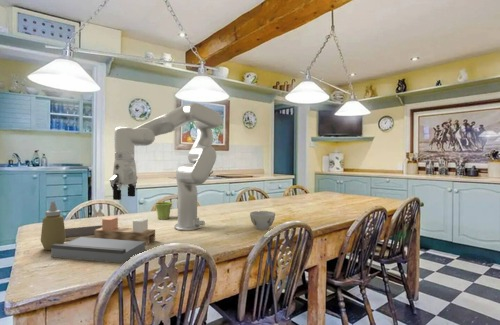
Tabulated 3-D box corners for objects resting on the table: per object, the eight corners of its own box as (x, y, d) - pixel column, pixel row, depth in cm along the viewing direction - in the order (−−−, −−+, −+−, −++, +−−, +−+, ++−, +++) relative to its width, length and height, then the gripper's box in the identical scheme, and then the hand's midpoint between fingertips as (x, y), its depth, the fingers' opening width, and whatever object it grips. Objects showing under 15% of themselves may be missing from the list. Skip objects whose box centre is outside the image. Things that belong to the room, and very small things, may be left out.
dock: (145, 249, 110) (145, 238, 110) (122, 262, 96) (122, 250, 96) (81, 244, 115) (81, 234, 115) (51, 256, 101) (51, 244, 101)
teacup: (280, 229, 142) (280, 213, 141) (262, 233, 133) (262, 216, 133) (259, 223, 153) (259, 208, 153) (241, 227, 145) (241, 211, 145)
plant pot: (165, 215, 169) (165, 201, 169) (175, 218, 163) (175, 203, 163) (151, 218, 161) (151, 203, 161) (162, 221, 156) (162, 205, 155)
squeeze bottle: (48, 244, 114) (48, 199, 113) (70, 244, 115) (69, 199, 114) (35, 251, 106) (34, 203, 105) (58, 251, 107) (57, 203, 106)
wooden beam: (155, 241, 121) (155, 229, 121) (147, 245, 115) (147, 233, 115) (104, 237, 125) (104, 226, 125) (94, 241, 119) (94, 230, 119)
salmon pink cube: (117, 227, 123) (117, 217, 123) (110, 230, 119) (110, 219, 119) (109, 227, 124) (109, 217, 124) (102, 230, 119) (102, 219, 119)
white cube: (147, 229, 121) (147, 219, 121) (141, 232, 116) (141, 221, 116) (138, 229, 121) (138, 218, 121) (132, 232, 117) (132, 221, 117)
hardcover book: (107, 237, 126) (107, 232, 126) (43, 245, 115) (43, 239, 115) (106, 229, 140) (106, 224, 140) (49, 234, 130) (49, 229, 130)
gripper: (119, 157, 110) (119, 201, 110) (144, 157, 127) (144, 195, 127) (102, 157, 111) (102, 200, 112) (128, 156, 128) (128, 194, 129)
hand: (124, 197), depth 120 cm, fingers open, 9 cm apart
